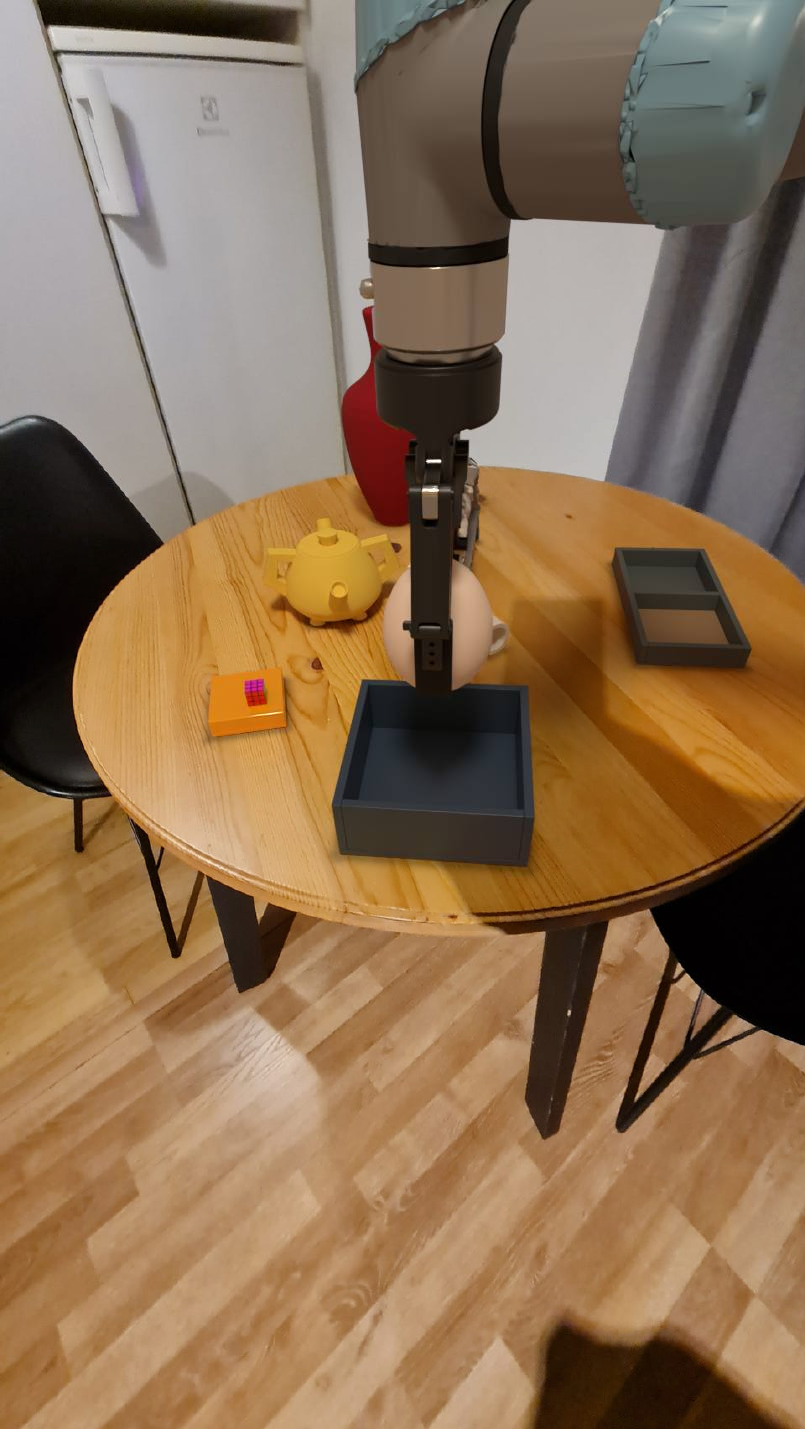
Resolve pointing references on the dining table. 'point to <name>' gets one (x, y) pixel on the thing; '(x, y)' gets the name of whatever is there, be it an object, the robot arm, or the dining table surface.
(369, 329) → the vase
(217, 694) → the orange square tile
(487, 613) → the egg
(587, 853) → the dining table surface
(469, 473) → the grey mottled flat piece
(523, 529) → the dining table surface
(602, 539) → the dining table surface
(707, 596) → the tray
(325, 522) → the teapot
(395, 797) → the tub
